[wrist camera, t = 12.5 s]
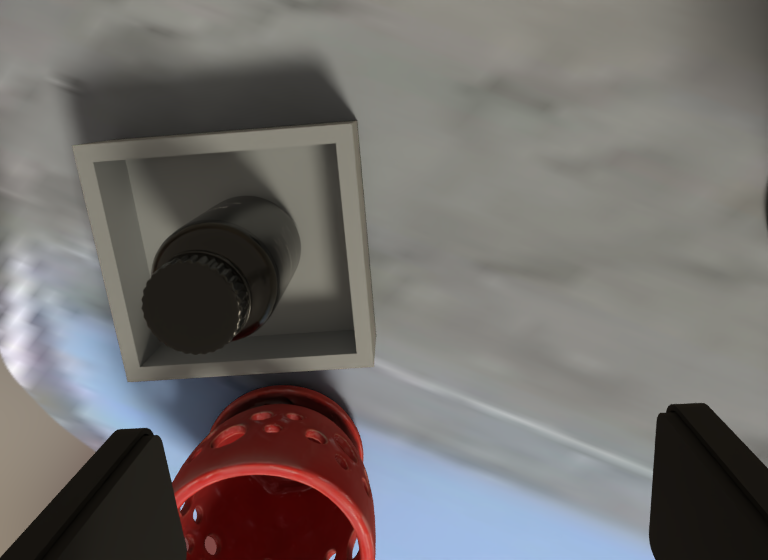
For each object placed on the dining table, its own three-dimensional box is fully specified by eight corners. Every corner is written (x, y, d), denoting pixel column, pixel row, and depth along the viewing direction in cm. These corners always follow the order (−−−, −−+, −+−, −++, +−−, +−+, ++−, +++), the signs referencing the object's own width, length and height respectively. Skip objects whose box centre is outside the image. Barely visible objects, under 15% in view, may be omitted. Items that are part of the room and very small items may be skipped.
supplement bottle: (222, 175, 36) (147, 211, 25) (319, 222, 37) (289, 277, 26) (185, 266, 38) (99, 338, 27) (278, 308, 39) (233, 396, 28)
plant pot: (294, 540, 47) (262, 683, 35) (174, 435, 44) (97, 554, 32) (414, 449, 44) (421, 573, 32) (294, 331, 41) (256, 421, 30)
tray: (357, 120, 36) (351, 123, 32) (376, 335, 41) (373, 366, 36) (113, 139, 37) (71, 145, 32) (158, 349, 41) (127, 382, 37)
